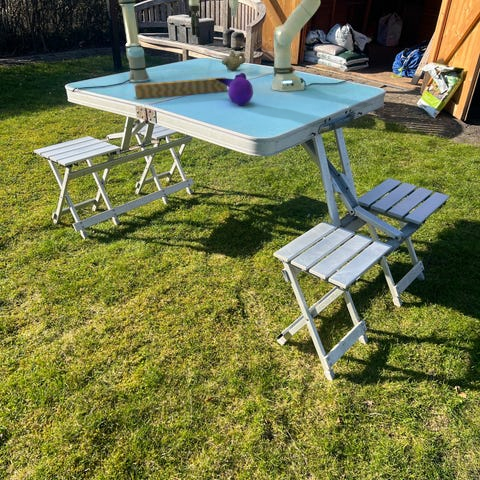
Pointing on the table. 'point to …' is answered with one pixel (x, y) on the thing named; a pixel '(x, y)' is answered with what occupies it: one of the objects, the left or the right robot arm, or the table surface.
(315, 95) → the table surface
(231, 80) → the toy
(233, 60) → the teapot
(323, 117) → the table surface
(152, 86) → the bar
